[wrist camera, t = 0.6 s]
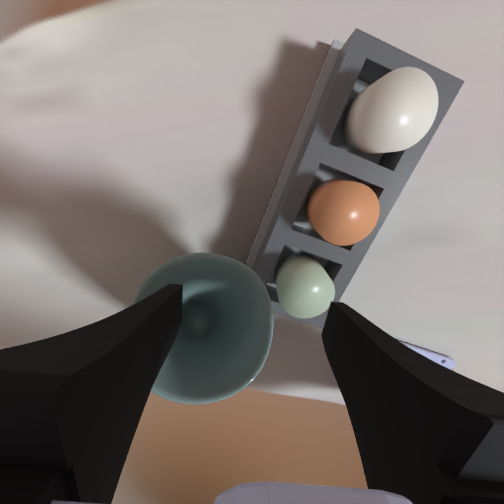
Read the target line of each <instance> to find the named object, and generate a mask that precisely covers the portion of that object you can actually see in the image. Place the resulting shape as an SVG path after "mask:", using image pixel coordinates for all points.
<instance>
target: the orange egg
mask: <svg viewBox="0 0 504 504" xmlns="http://www.w3.org/2000/svg"><path fill="white" fill-rule="evenodd" d="M379 213H380V205H379V201H378V198H377V196H376V194H375V193H374V192H373V190H372V189H371V188H369V187H368V186H366V185H364V184H362V183H359V182H353V181H346V180H340V179H330V180H326V181H324V182H322V183H320V184H318V185H317V186H316V187H315V188H313V190H312V191H311V192H310V194H309V195H308V197H307V200H306V203H305V215H306V219H307V221H308V222H309V224H310V225H311V226H312V227H313V228H314V229H315V230H316V231H317V232H318V233H319V235H320V236H321V237H322V238H324V239H325V240H326V241H328V242H329V243H331V244H334V245H339V246H346V245H352V244H355V243H357V242H359V241H361V240H363V239H364V238H365V237H367V236H368V235H369V234H370V233H371V231H372V230H373V229H374V227H375V226H376V223H377V221H378V218H379Z"/></svg>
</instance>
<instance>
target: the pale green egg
mask: <svg viewBox="0 0 504 504" xmlns="http://www.w3.org/2000/svg"><path fill="white" fill-rule="evenodd" d="M274 279H275V285H276V290H277V295H278V300H279V303H280V305H281V307H282V309H283V310H284V311H285V312H286V313H288V314H289V315H291V316H294V317H297V318H312V317H316V316H318V315H320V314H322V313H323V312H325V311H326V310H327V309H328V308H329V306H330V303H331V301H332V302H333V300H334V296H335V287H334V284H333V282H332V280H331V278H330V277H329V276H328V274H327V273H326V271H325V270H324V268H323V267H322V265H321V264H320V263H319V261H318V260H317V259H316V258H315V257H313V256H311V255H309V254H305V253H296V254H292V255H289V256H287V257H285V258H284V259H283V260H282V261H281V262H280V263H279V264H278V266H277V267H276V270H275V274H274Z"/></svg>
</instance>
